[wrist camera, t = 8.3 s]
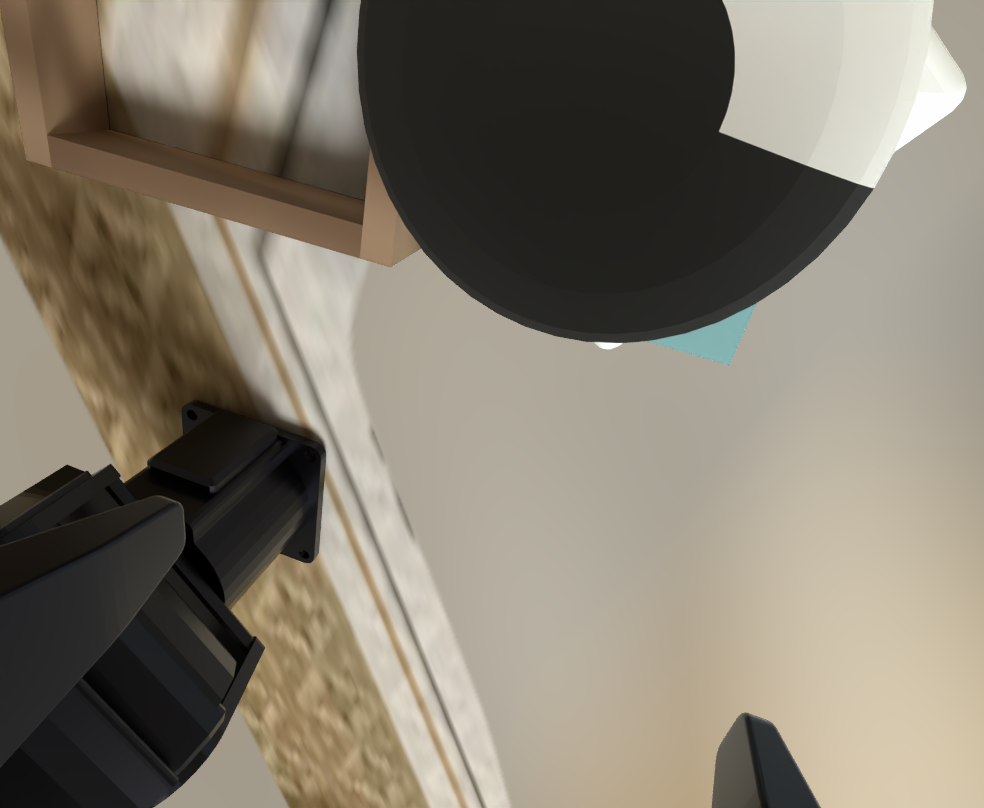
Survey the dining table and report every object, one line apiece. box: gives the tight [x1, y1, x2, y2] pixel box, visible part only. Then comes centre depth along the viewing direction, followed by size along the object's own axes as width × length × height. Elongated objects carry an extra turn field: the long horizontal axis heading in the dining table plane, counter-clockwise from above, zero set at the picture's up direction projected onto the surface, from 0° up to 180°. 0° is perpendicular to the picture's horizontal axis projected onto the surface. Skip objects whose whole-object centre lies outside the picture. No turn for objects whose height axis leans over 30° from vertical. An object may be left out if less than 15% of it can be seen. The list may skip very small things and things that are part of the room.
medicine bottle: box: [357, 0, 967, 349], centre depth 11 cm, size 7×7×12 cm
